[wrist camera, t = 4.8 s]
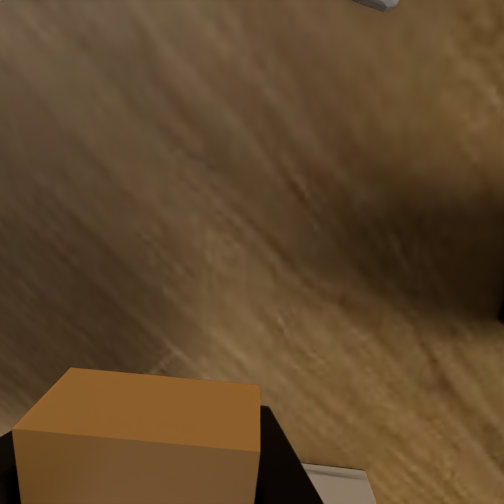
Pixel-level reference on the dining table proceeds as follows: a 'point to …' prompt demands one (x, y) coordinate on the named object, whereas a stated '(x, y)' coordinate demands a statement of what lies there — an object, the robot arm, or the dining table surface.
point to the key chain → (379, 4)
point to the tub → (340, 484)
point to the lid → (139, 441)
